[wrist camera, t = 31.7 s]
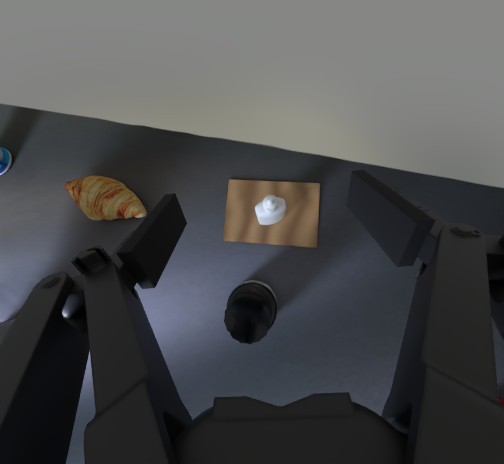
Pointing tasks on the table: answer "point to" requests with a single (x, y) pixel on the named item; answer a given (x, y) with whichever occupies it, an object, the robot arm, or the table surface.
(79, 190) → the croissant
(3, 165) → the beverage bottle
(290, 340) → the table surface
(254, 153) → the table surface
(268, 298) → the ink bottle
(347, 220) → the table surface
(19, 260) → the table surface
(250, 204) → the wooden board
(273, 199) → the eye dropper bottle
